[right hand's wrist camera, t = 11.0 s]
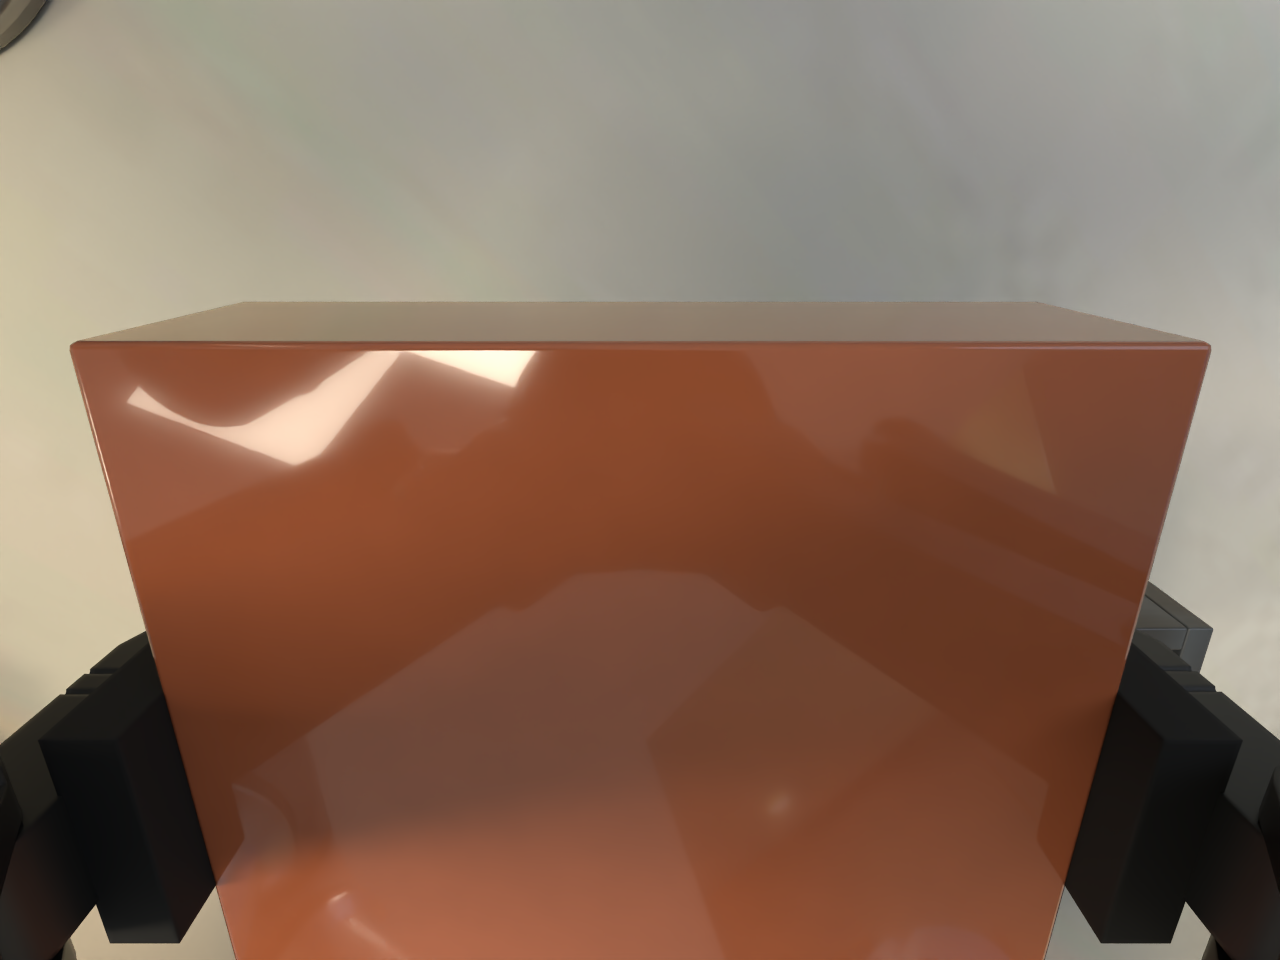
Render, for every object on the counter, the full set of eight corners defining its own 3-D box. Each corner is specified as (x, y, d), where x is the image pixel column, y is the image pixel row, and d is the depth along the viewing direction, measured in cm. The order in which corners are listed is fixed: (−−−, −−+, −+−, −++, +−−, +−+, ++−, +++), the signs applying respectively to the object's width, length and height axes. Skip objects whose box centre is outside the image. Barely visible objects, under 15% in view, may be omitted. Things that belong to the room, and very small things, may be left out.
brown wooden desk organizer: (814, 921, 41) (876, 1173, 31) (864, 495, 32) (977, 641, 21) (955, 921, 41) (1066, 1172, 31) (1045, 495, 32) (1248, 640, 21)
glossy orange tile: (375, 836, 14) (267, 1089, 10) (285, 290, 10) (62, 341, 6) (905, 836, 14) (1012, 1089, 10) (995, 291, 10) (1217, 342, 6)
